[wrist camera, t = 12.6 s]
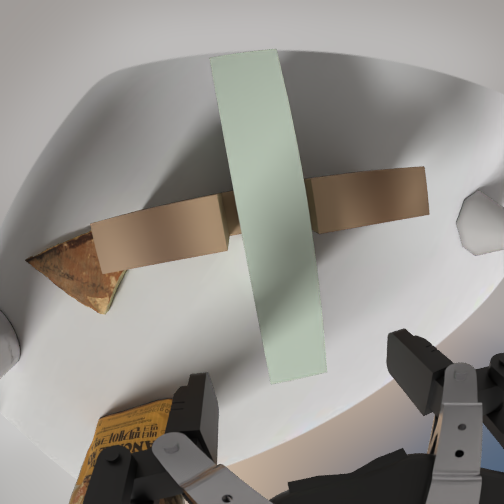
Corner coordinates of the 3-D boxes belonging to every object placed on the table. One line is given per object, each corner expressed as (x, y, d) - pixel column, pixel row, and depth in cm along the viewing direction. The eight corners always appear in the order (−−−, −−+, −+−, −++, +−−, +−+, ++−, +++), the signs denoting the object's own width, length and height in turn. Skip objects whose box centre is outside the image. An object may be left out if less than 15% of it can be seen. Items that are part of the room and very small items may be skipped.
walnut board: (148, 242, 26) (102, 274, 16) (141, 209, 25) (90, 223, 15) (366, 203, 26) (429, 214, 16) (361, 171, 25) (424, 166, 15)
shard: (32, 257, 26) (23, 261, 24) (55, 193, 24) (45, 194, 23) (108, 313, 27) (102, 320, 25) (138, 249, 26) (132, 253, 24)
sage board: (222, 119, 24) (209, 57, 11) (256, 114, 24) (276, 49, 11) (255, 297, 27) (270, 384, 14) (287, 291, 27) (327, 372, 14)
